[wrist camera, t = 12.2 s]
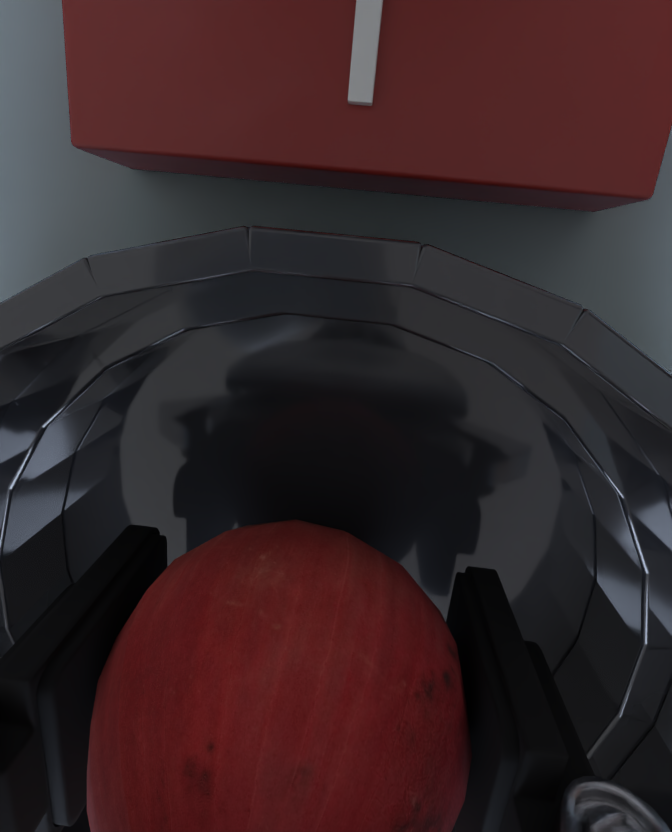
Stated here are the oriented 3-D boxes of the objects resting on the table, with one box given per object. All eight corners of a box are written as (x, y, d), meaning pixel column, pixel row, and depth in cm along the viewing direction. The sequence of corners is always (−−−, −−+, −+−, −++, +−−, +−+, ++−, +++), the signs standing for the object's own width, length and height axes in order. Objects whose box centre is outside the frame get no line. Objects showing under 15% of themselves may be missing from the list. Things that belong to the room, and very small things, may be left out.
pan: (-11, 209, 10) (-298, 172, 6) (741, 283, 9) (1051, 302, 5) (51, 747, 15) (-81, 947, 10) (558, 823, 14) (638, 1070, 10)
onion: (469, 487, 11) (704, 1061, 3) (402, 685, 12) (445, 1346, 5) (209, 428, 11) (-194, 850, 3) (180, 634, 12) (-117, 1215, 5)
